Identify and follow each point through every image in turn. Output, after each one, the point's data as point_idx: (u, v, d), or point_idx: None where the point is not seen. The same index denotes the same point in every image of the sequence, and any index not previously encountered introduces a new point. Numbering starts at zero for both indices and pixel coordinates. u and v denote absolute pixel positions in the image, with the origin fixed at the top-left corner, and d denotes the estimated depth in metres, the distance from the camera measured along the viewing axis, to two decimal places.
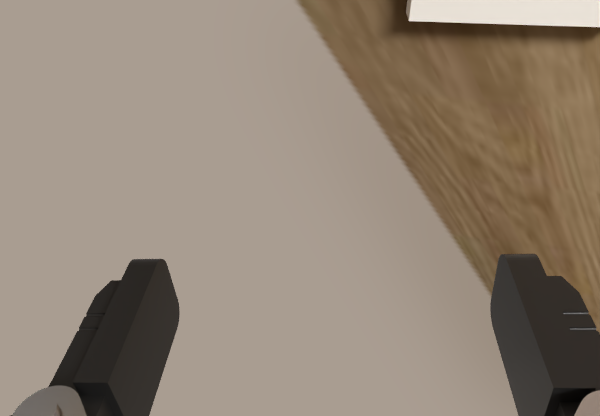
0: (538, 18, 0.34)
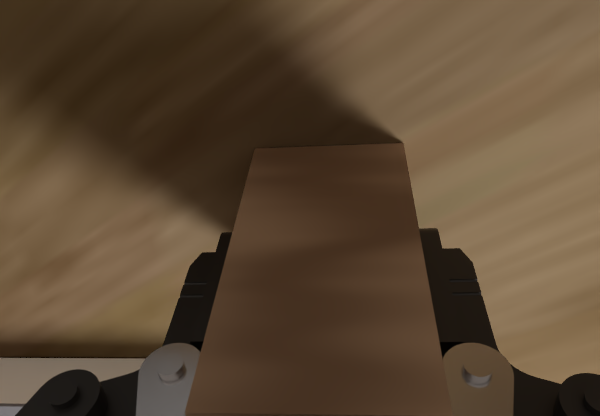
0: None
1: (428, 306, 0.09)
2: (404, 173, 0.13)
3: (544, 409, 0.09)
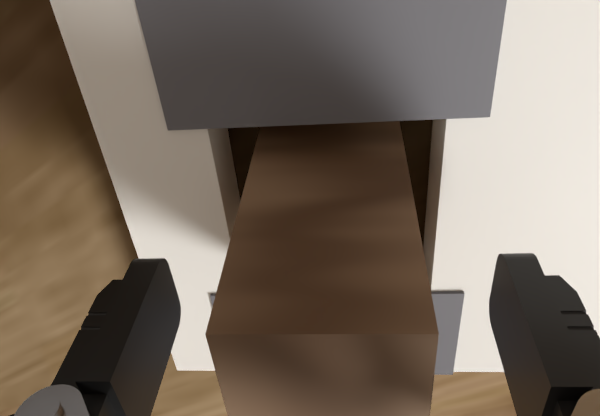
0: (150, 253, 0.16)
1: (419, 249, 0.11)
2: (399, 141, 0.14)
3: None
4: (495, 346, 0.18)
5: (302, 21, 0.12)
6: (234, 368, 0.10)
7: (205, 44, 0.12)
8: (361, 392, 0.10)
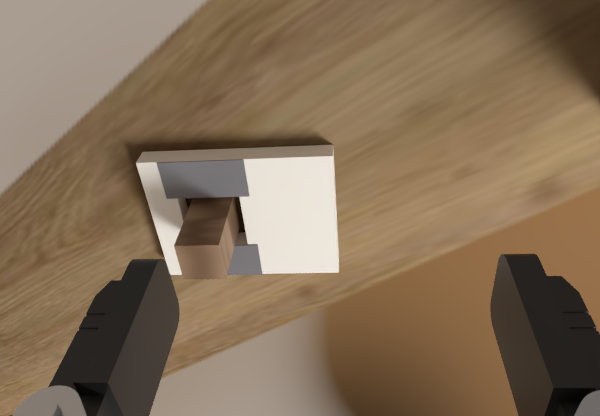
0: (161, 232, 0.53)
1: (222, 229, 0.48)
2: (230, 201, 0.51)
3: None
4: (273, 263, 0.55)
5: (199, 174, 0.49)
6: (180, 254, 0.47)
7: (175, 179, 0.49)
8: (207, 259, 0.47)
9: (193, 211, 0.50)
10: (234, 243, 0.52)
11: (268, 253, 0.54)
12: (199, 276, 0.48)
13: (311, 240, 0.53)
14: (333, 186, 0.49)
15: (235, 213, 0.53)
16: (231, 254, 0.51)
